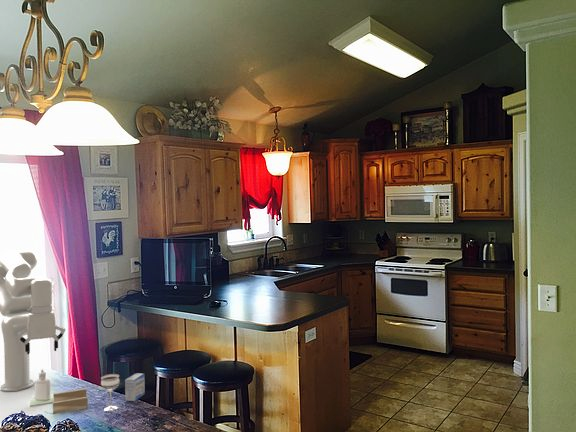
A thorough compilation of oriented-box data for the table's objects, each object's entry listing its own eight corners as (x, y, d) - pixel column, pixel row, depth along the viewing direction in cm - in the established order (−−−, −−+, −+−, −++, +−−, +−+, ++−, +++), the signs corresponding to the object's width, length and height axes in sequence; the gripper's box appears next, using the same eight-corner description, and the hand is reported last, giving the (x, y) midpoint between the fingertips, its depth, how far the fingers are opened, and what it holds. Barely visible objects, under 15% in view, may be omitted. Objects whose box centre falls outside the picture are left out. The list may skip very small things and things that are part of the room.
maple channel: (53, 403, 188) (53, 393, 188) (86, 398, 193) (86, 388, 193) (53, 414, 178) (52, 403, 178) (87, 408, 183) (87, 397, 183)
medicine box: (135, 401, 188) (134, 379, 188) (125, 401, 189) (124, 379, 189) (145, 394, 196) (144, 373, 196) (135, 393, 197) (134, 372, 197)
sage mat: (31, 399, 193) (31, 397, 193) (55, 395, 197) (55, 393, 197) (29, 406, 185) (29, 405, 185) (55, 402, 189) (55, 401, 189)
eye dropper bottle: (40, 402, 188) (40, 372, 188) (33, 399, 191) (33, 369, 191) (51, 399, 191) (51, 369, 191) (44, 396, 194) (44, 367, 195)
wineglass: (123, 406, 183) (123, 375, 183) (108, 413, 177) (108, 381, 177) (112, 403, 187) (112, 373, 187) (97, 409, 181) (96, 378, 181)
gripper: (16, 313, 184) (16, 357, 184) (65, 309, 191) (65, 351, 191) (17, 309, 191) (18, 352, 191) (65, 306, 198) (65, 346, 198)
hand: (42, 351), depth 191 cm, fingers open, 9 cm apart
